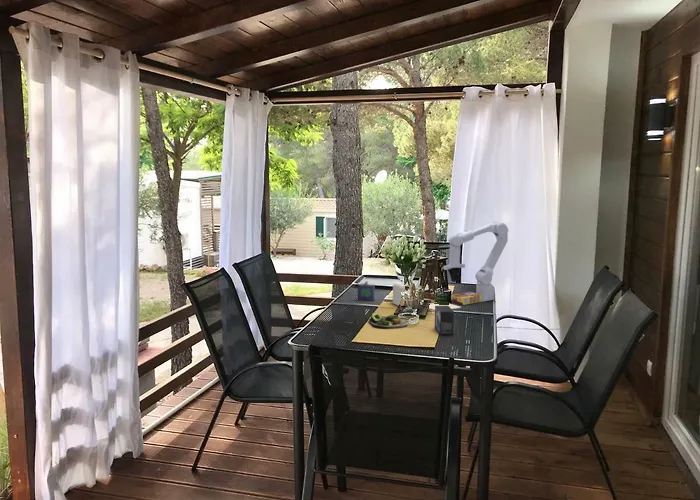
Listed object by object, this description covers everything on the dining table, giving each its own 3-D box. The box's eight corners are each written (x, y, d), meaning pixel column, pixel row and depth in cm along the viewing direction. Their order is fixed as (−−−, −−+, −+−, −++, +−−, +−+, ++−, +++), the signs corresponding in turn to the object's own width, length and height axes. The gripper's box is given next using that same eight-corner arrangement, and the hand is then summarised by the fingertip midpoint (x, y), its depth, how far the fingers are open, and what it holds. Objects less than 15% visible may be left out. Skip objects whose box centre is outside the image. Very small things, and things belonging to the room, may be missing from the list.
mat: (442, 302, 293) (442, 301, 293) (461, 307, 282) (461, 306, 281) (420, 305, 284) (420, 305, 284) (438, 311, 273) (438, 310, 273)
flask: (374, 300, 296) (374, 280, 294) (374, 301, 293) (374, 281, 292) (357, 299, 296) (357, 280, 295) (357, 300, 294) (357, 281, 292)
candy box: (462, 305, 287) (482, 301, 295) (463, 298, 286) (482, 294, 294) (450, 302, 294) (470, 298, 302) (450, 294, 293) (470, 291, 302)
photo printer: (391, 303, 289) (392, 280, 287) (398, 302, 291) (398, 280, 289) (401, 307, 280) (402, 284, 278) (408, 307, 282) (409, 283, 280)
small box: (433, 327, 244) (434, 305, 242) (447, 327, 245) (448, 305, 243) (439, 334, 234) (440, 311, 232) (453, 334, 234) (454, 311, 233)
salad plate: (403, 317, 261) (404, 308, 261) (416, 328, 244) (416, 318, 243) (365, 319, 257) (365, 310, 256) (375, 330, 240) (375, 320, 239)
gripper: (458, 255, 303) (457, 278, 305) (439, 257, 295) (438, 281, 297) (468, 256, 297) (466, 281, 299) (449, 258, 289) (448, 283, 291)
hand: (453, 281), depth 297 cm, fingers closed
